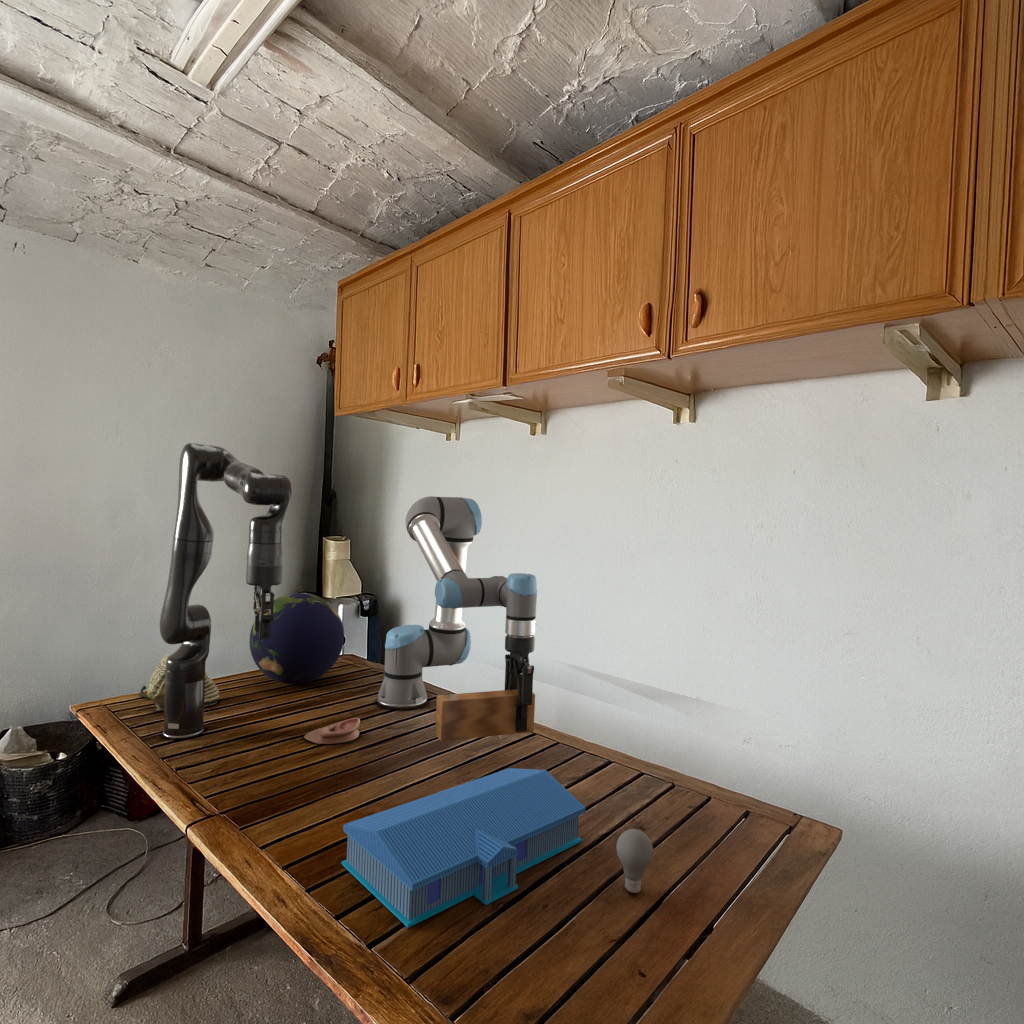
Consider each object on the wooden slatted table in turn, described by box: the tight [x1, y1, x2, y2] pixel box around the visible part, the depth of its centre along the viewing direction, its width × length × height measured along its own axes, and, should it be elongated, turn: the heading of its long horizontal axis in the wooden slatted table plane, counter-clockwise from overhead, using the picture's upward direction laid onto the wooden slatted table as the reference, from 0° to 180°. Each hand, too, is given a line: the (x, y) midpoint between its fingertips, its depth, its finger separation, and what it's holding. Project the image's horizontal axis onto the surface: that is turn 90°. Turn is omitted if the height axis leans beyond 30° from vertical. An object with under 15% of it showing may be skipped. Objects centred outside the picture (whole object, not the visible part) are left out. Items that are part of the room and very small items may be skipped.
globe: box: [248, 592, 345, 686], centre depth 212 cm, size 30×30×30 cm
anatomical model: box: [303, 717, 361, 745], centre depth 167 cm, size 13×4×12 cm
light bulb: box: [615, 828, 654, 894], centre depth 106 cm, size 6×6×10 cm
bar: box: [434, 689, 536, 742], centre depth 157 cm, size 24×5×10 cm, turn 112°
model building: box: [341, 767, 586, 929], centre depth 114 cm, size 39×24×10 cm, turn 132°
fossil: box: [146, 654, 221, 712], centre depth 185 cm, size 9×18×15 cm, turn 132°
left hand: (262, 635), depth 142 cm, fingers open, 8 cm apart
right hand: (516, 726), depth 160 cm, fingers closed on bar, 5 cm apart
